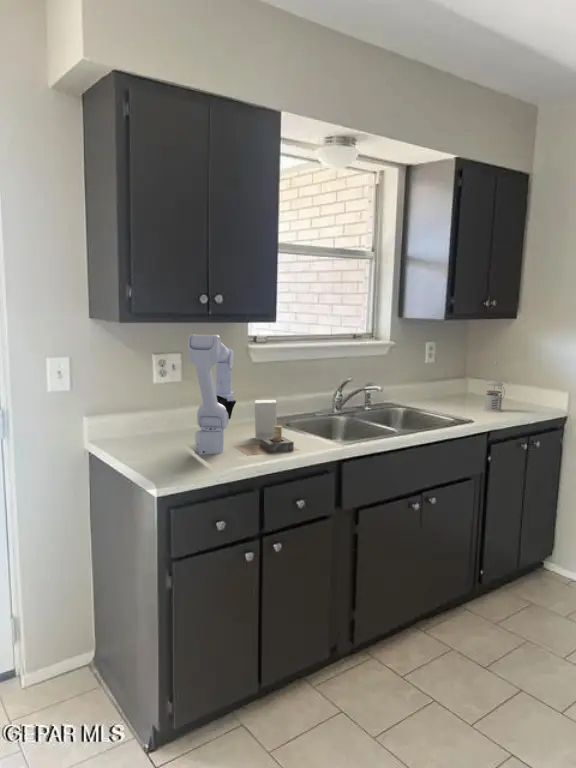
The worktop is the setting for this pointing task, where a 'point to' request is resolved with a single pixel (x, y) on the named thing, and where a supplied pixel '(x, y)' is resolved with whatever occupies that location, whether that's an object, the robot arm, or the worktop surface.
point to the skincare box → (265, 418)
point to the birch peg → (277, 433)
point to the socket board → (255, 449)
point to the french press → (494, 397)
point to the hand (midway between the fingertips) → (223, 417)
